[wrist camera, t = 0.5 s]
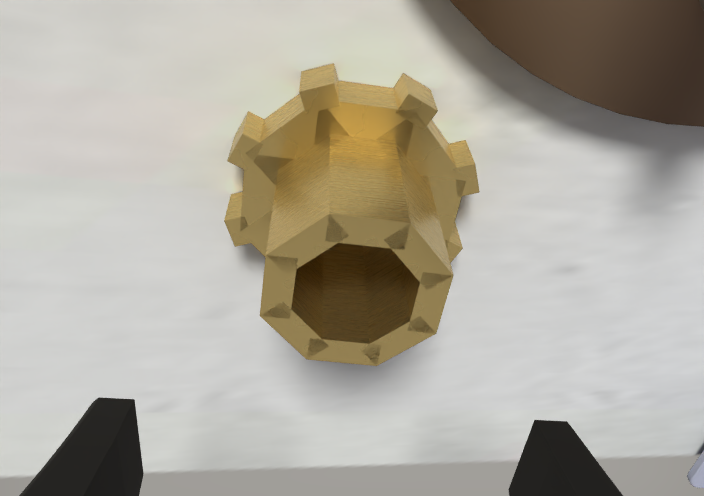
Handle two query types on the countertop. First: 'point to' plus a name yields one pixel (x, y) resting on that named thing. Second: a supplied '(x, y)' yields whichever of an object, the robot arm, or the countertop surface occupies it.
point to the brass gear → (351, 215)
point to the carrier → (606, 50)
